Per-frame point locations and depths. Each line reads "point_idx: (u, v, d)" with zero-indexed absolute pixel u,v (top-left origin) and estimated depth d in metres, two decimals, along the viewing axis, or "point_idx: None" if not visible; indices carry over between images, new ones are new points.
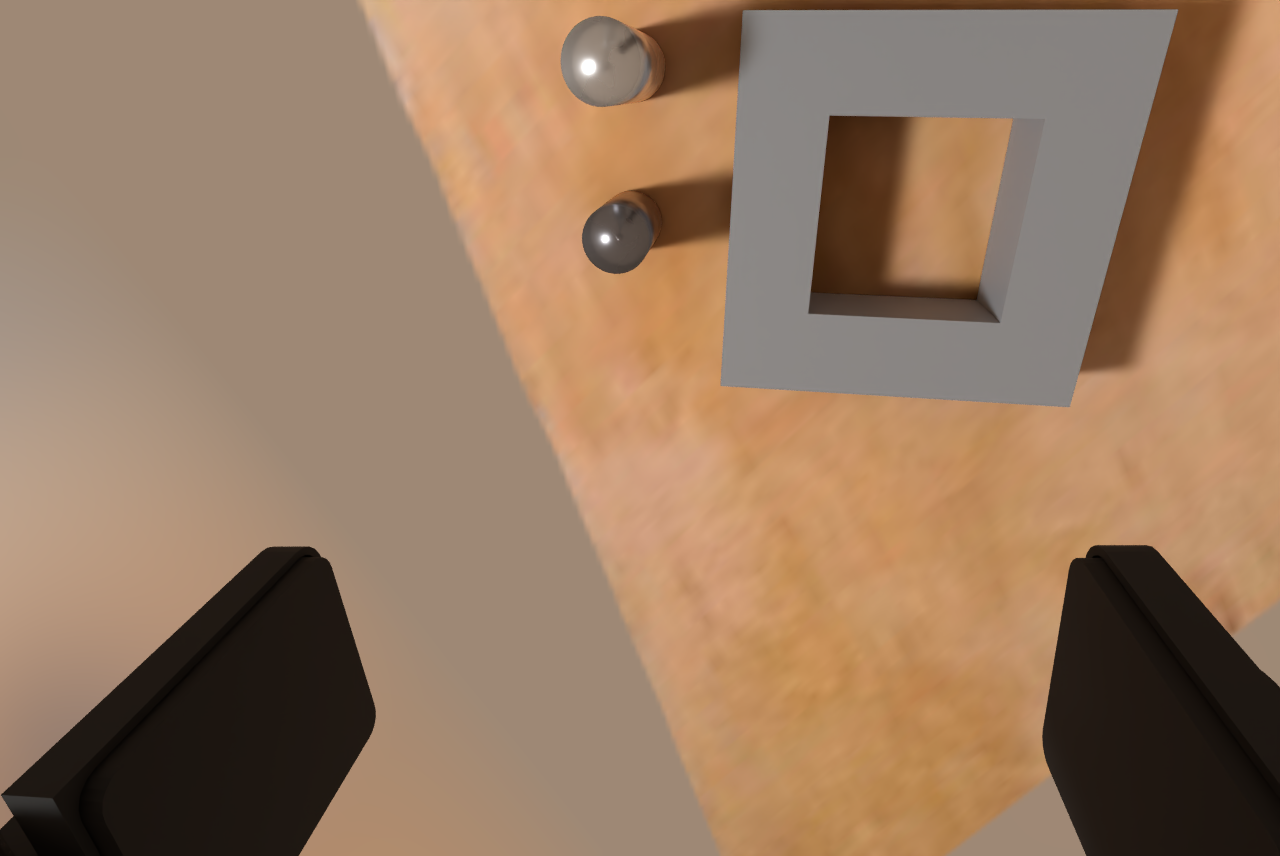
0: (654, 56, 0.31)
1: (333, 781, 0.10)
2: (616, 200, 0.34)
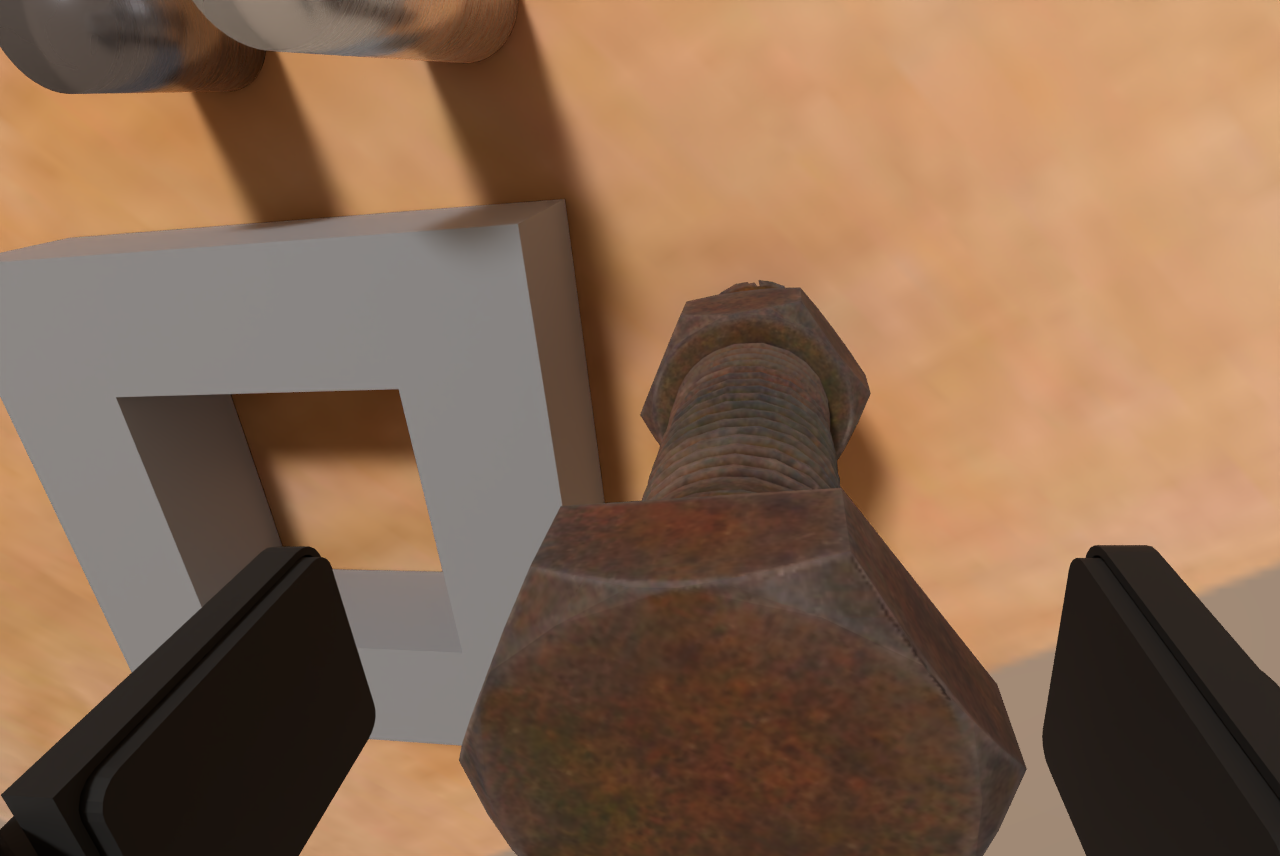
0: (421, 54, 0.16)
1: (333, 780, 0.10)
2: (159, 0, 0.16)
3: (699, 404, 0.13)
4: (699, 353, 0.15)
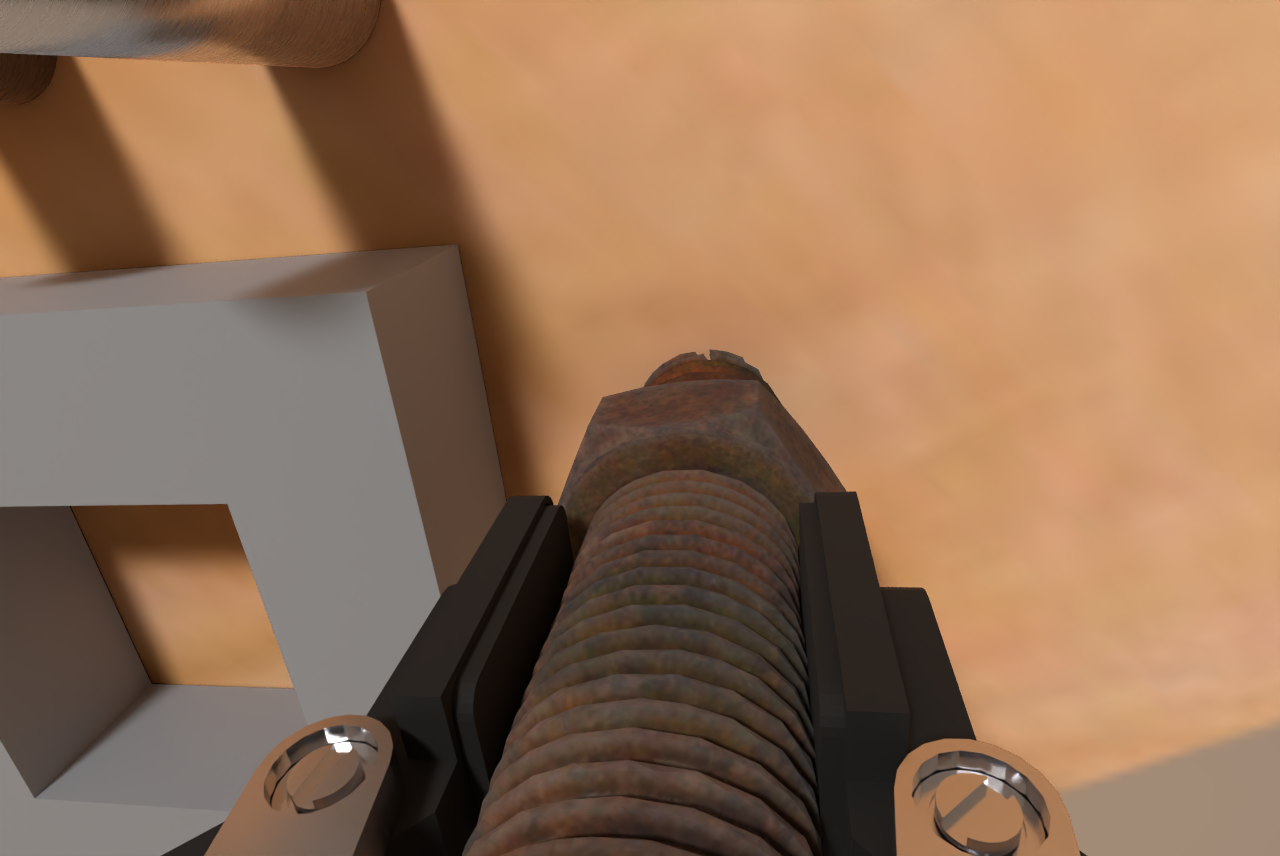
0: (214, 55, 0.11)
1: None
2: None
3: (594, 599, 0.08)
4: (615, 479, 0.11)
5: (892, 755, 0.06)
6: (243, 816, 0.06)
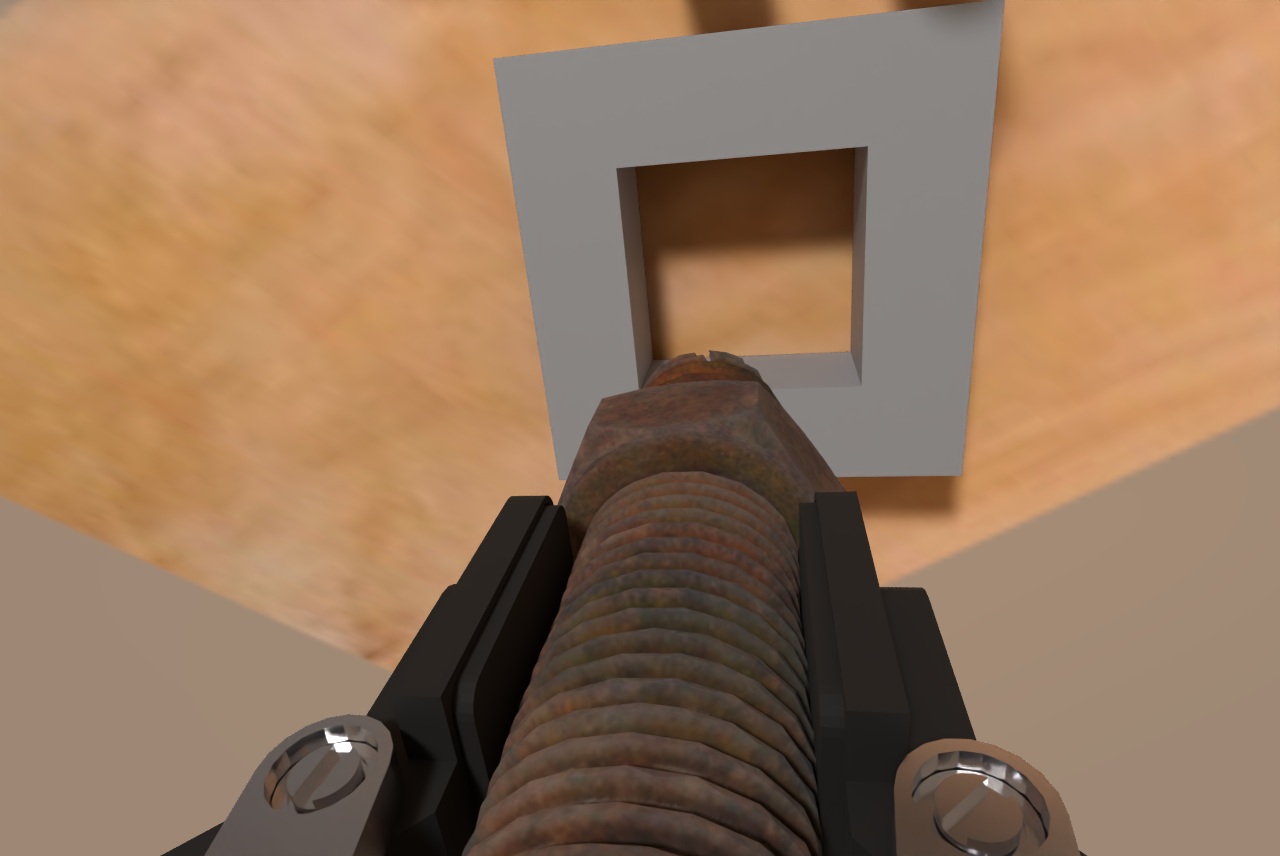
0: None
1: None
2: None
3: (592, 602, 0.08)
4: (614, 481, 0.11)
5: (892, 756, 0.06)
6: (243, 816, 0.06)
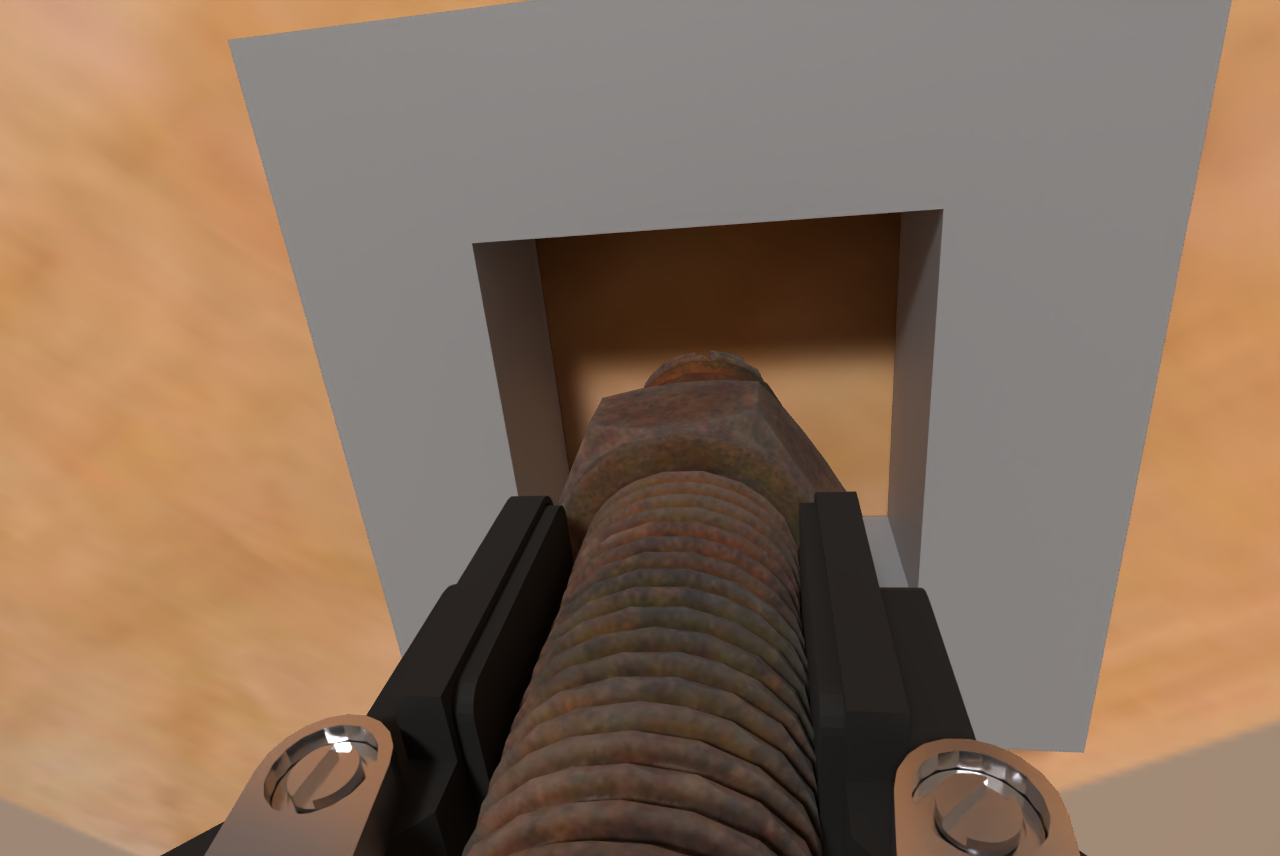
0: None
1: None
2: None
3: (593, 601, 0.08)
4: (615, 480, 0.11)
5: (892, 755, 0.06)
6: (243, 816, 0.06)
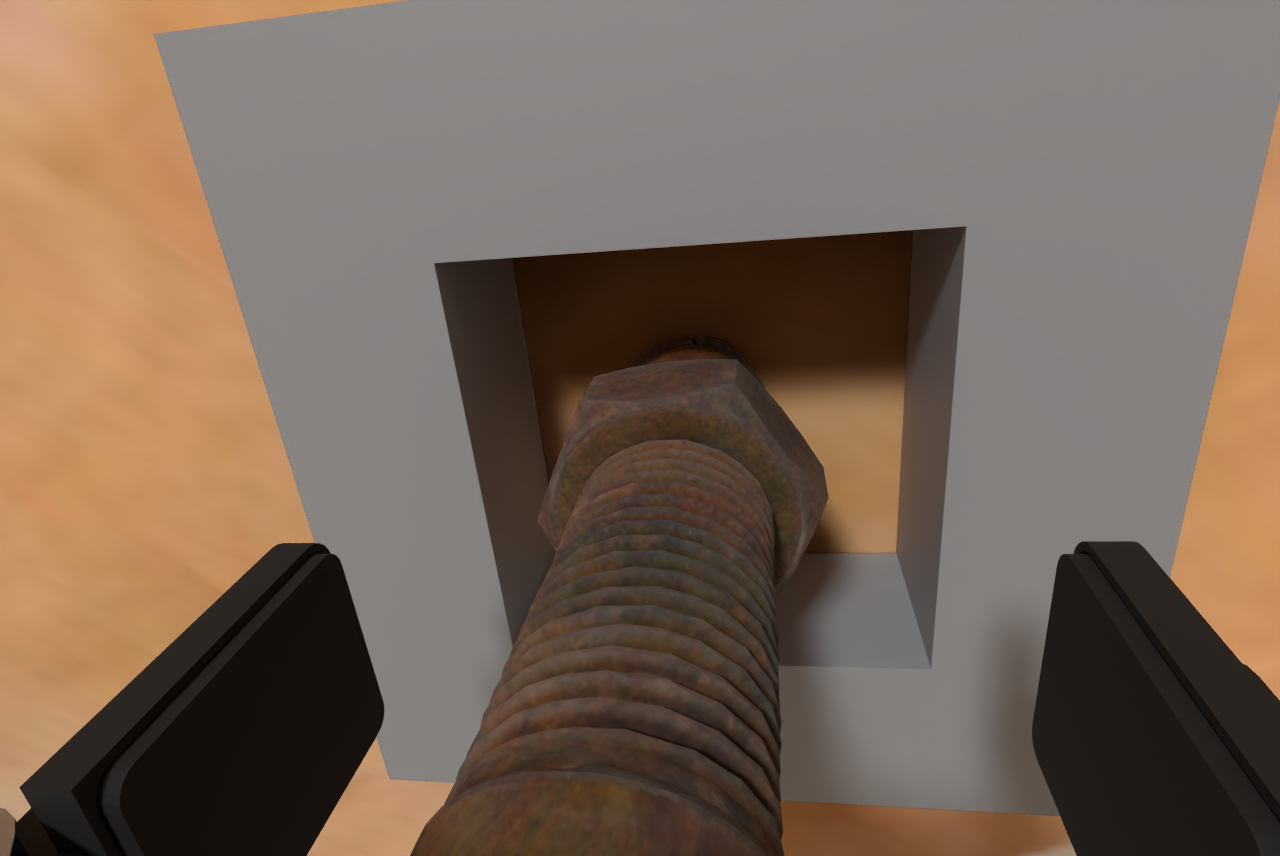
0: None
1: (343, 776, 0.10)
2: None
3: (582, 548, 0.09)
4: (605, 450, 0.12)
5: None
6: None
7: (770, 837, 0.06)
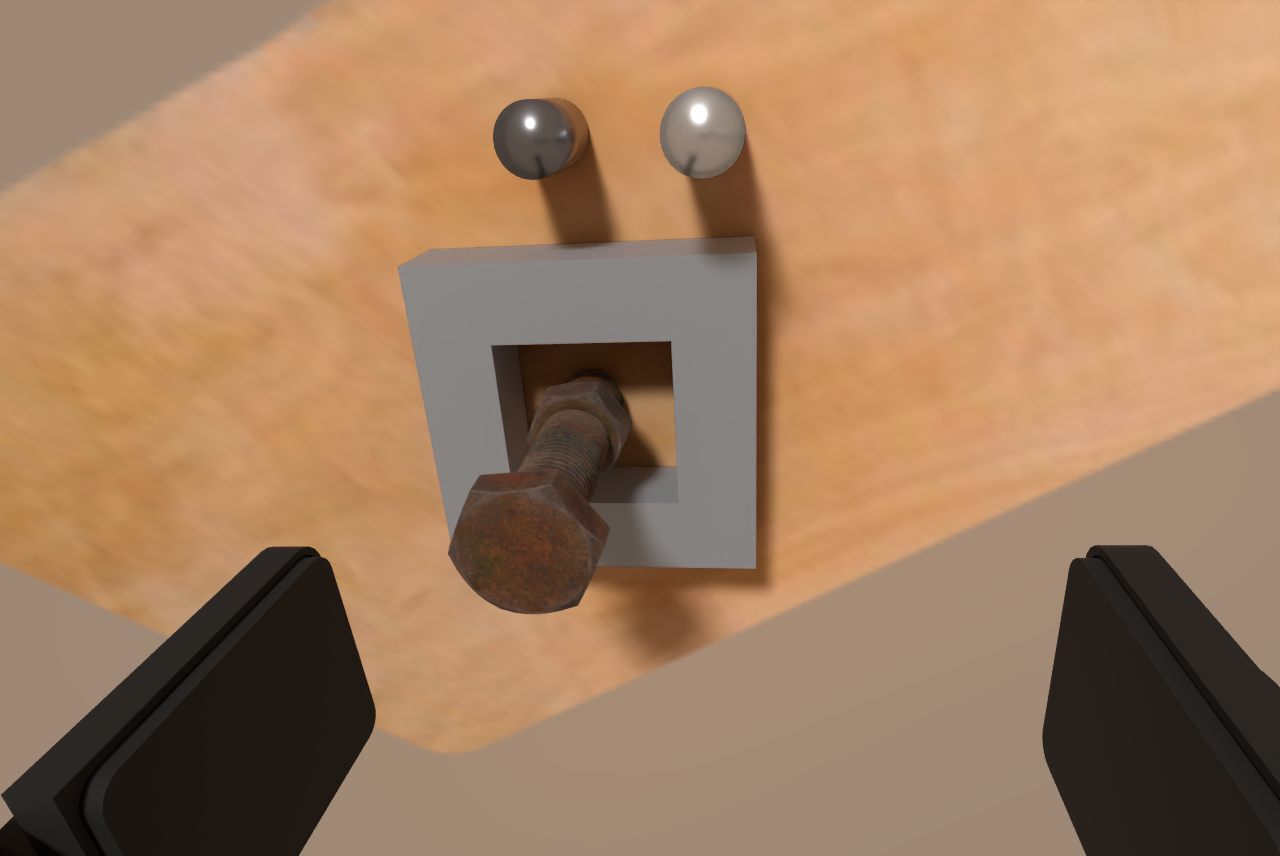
0: None
1: (333, 781, 0.10)
2: (573, 131, 0.31)
3: (541, 438, 0.31)
4: (551, 413, 0.34)
5: None
6: None
7: (581, 492, 0.29)
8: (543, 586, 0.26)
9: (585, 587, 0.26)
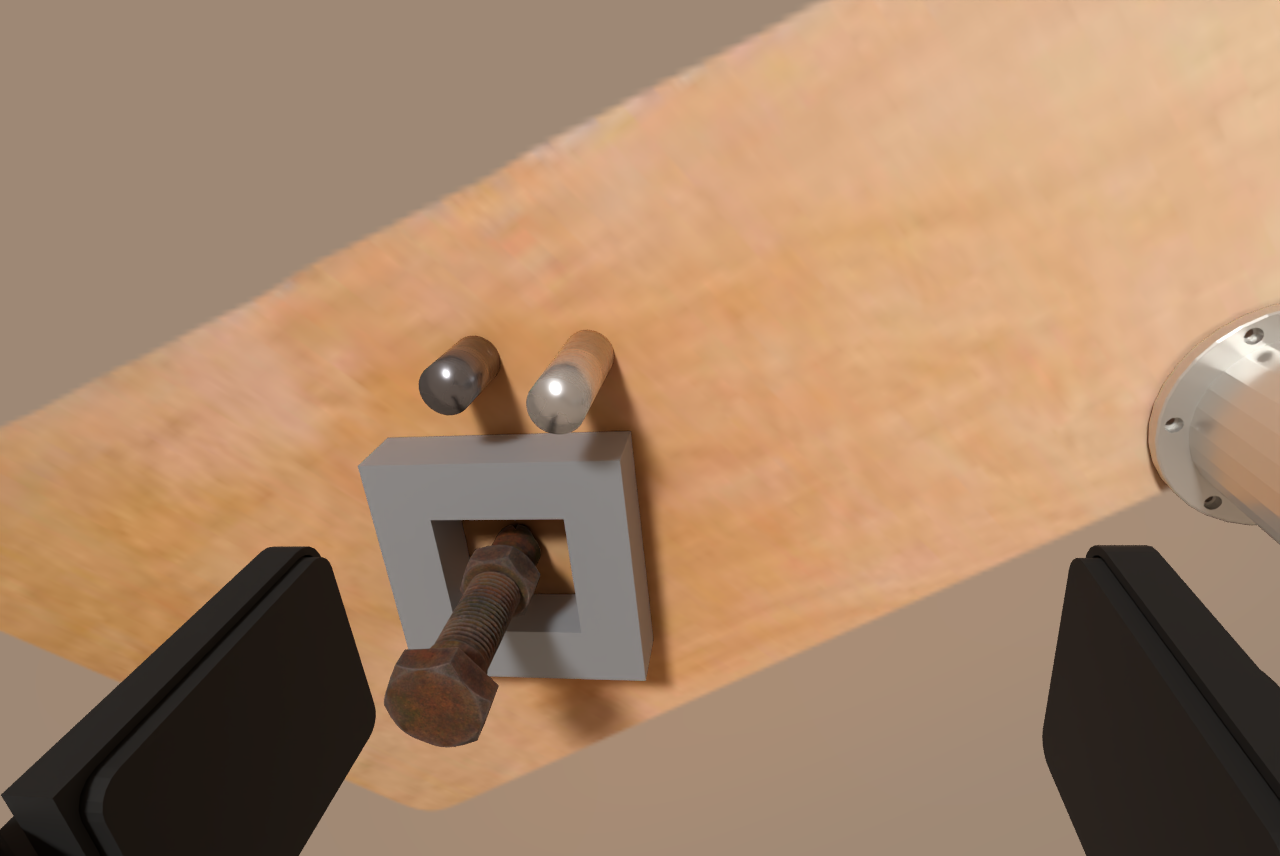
0: None
1: (333, 781, 0.10)
2: (479, 375, 0.42)
3: (462, 602, 0.42)
4: (475, 573, 0.45)
5: None
6: None
7: (483, 652, 0.39)
8: (450, 729, 0.37)
9: (479, 730, 0.37)
